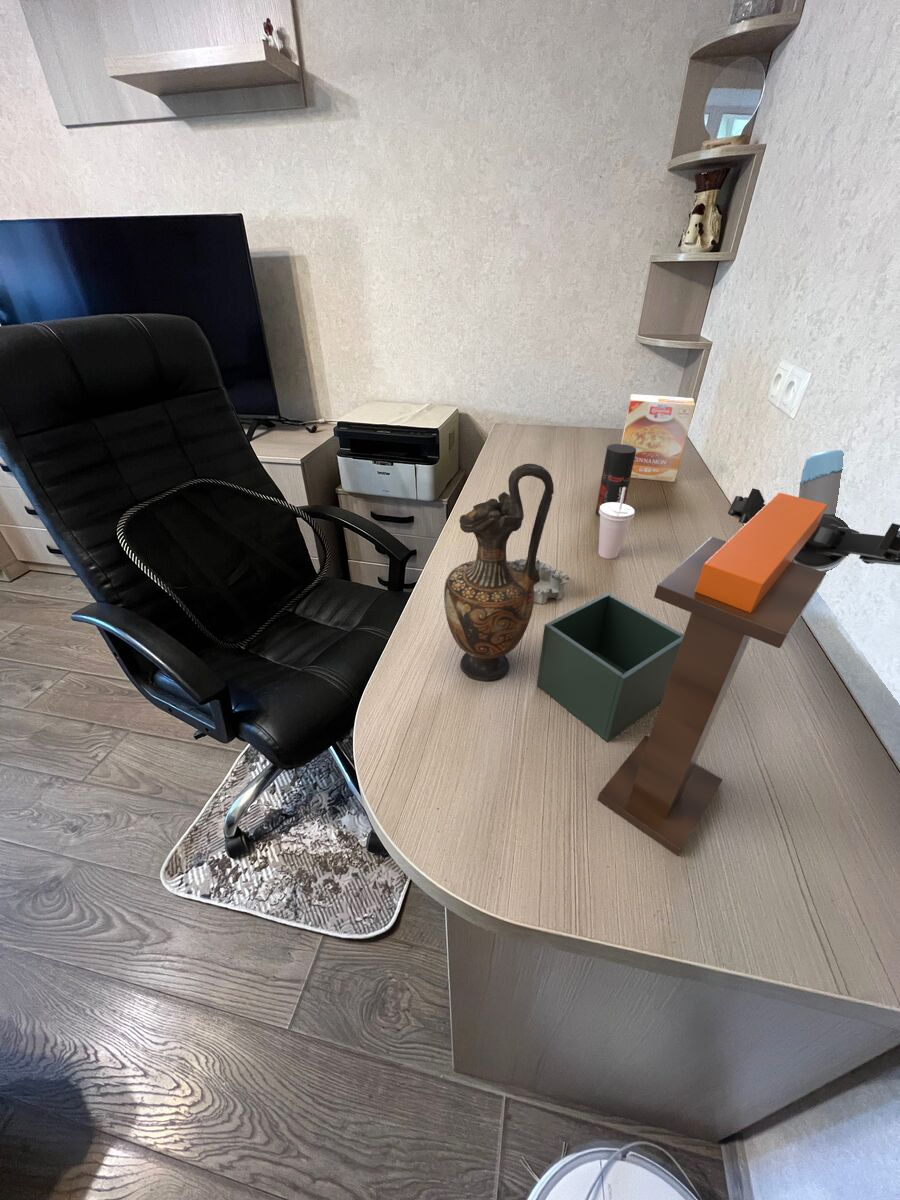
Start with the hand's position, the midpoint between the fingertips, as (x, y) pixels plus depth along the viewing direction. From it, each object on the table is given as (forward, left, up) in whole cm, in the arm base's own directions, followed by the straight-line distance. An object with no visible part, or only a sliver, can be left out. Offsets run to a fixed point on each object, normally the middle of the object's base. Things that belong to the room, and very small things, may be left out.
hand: (815, 516), depth 56 cm
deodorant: (+46, -28, -25) cm, 59 cm away
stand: (-4, +25, -25) cm, 35 cm away
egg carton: (+34, +7, -25) cm, 43 cm away
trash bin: (+10, +18, -25) cm, 32 cm away
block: (-3, +21, +3) cm, 21 cm away
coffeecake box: (+56, -55, -25) cm, 82 cm away
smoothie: (+34, -13, -25) cm, 44 cm away
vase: (+23, +27, -25) cm, 43 cm away
